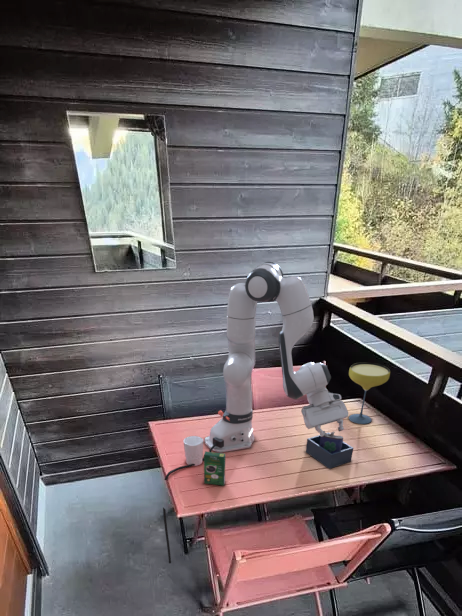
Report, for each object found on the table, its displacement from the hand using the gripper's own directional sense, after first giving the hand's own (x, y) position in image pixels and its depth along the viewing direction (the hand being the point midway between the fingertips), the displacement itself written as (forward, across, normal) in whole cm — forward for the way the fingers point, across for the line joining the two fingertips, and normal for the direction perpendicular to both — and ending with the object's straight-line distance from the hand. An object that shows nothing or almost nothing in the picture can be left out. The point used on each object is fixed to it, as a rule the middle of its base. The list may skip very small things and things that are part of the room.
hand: (332, 433), depth 179 cm
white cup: (-9, -51, +26) cm, 58 cm away
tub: (+8, 0, +8) cm, 11 cm away
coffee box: (+4, -51, +13) cm, 53 cm away
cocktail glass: (-6, +37, +23) cm, 44 cm away
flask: (+7, 0, +8) cm, 11 cm away
